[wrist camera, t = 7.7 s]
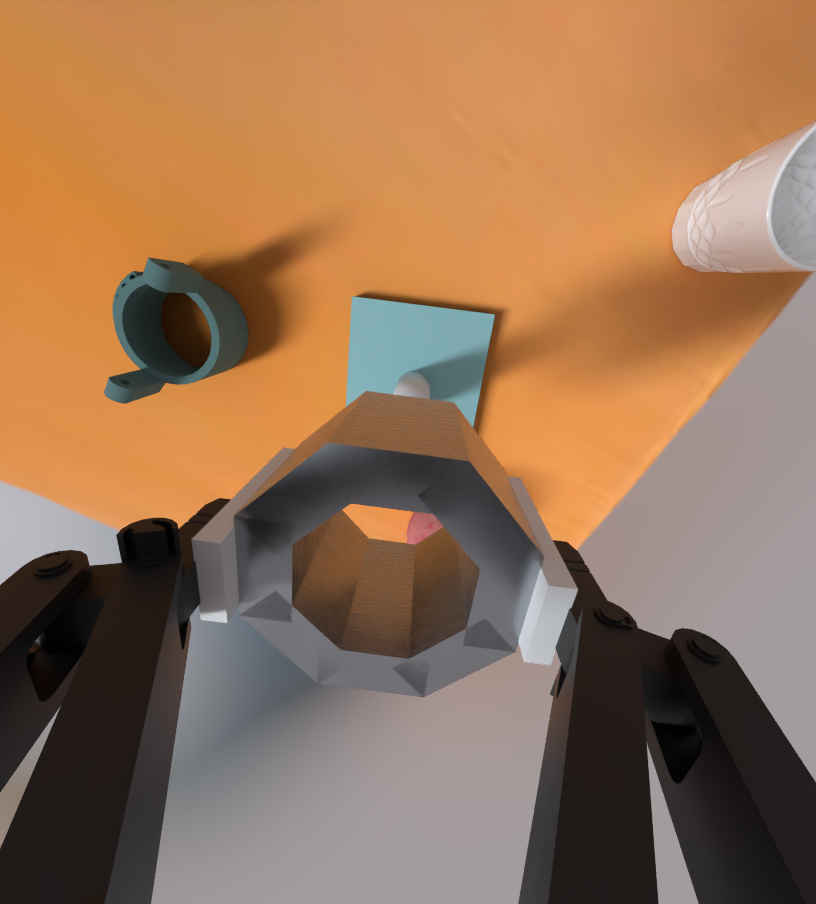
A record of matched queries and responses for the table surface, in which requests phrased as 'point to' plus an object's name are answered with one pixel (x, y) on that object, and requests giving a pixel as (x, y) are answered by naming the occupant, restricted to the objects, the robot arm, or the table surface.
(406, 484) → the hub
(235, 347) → the bracket
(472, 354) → the stand
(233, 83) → the table surface
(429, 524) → the apple
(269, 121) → the table surface
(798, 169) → the white cup
